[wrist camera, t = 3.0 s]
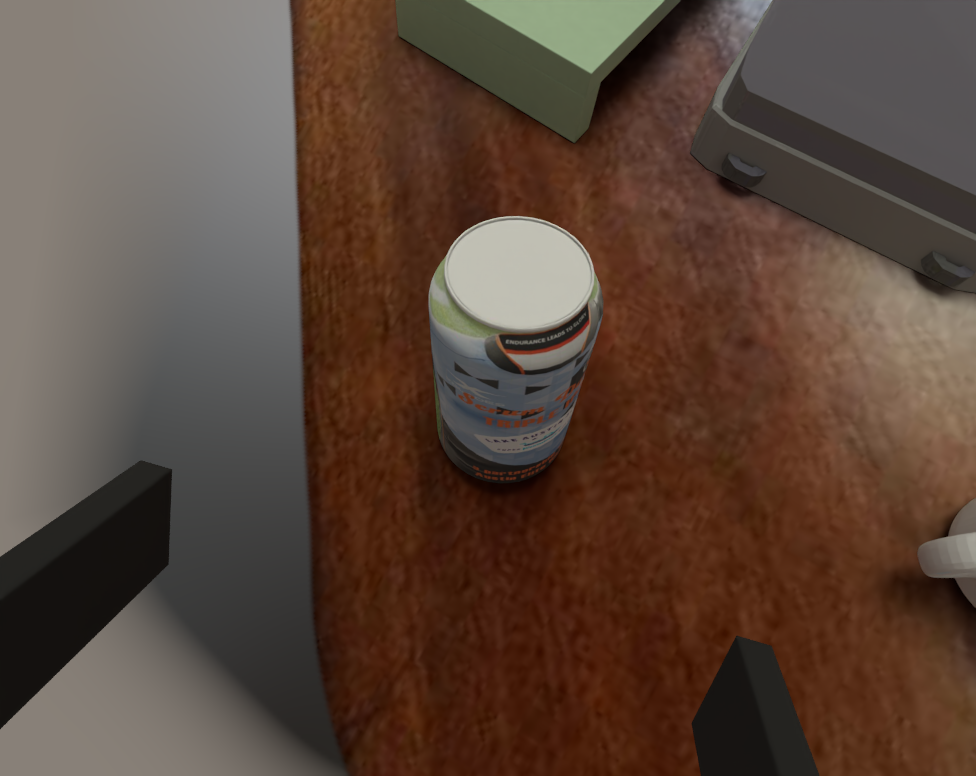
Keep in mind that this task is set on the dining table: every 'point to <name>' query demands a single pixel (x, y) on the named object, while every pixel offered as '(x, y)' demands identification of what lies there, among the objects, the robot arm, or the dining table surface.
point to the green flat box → (533, 48)
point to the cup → (954, 553)
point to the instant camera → (859, 125)
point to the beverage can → (511, 344)
